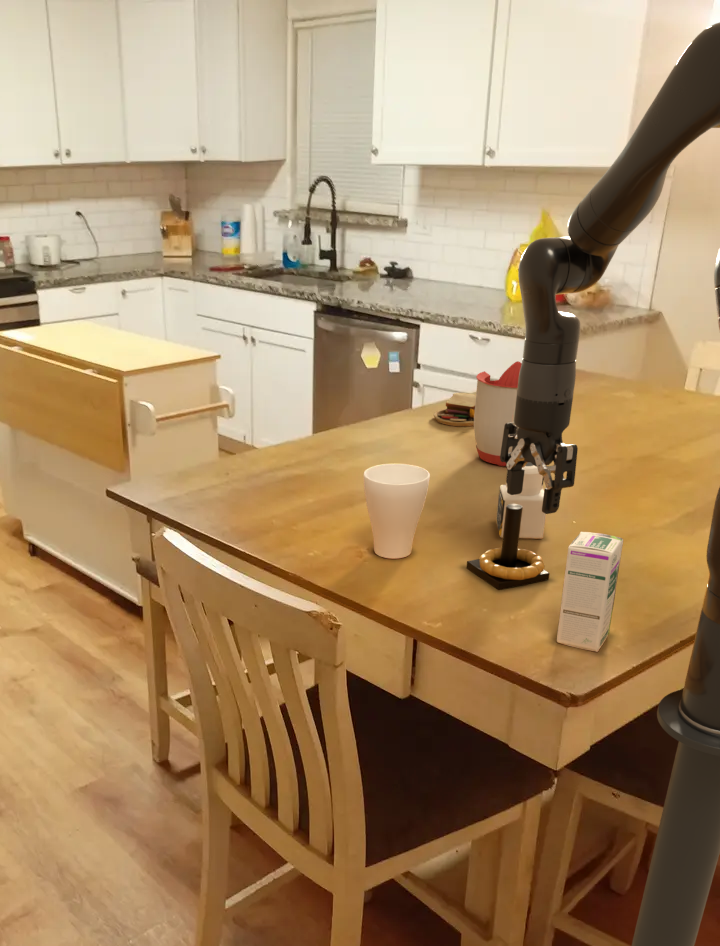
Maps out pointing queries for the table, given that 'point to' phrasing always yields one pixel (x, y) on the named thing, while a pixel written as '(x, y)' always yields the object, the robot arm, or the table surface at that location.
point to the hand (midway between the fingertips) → (531, 502)
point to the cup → (395, 506)
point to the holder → (508, 553)
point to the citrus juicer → (494, 412)
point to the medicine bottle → (525, 504)
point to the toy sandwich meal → (458, 410)
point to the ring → (512, 573)
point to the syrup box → (589, 590)
